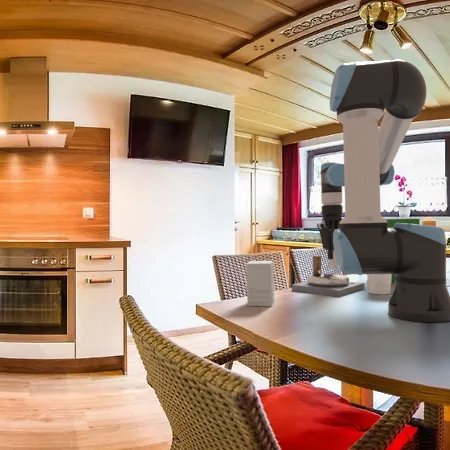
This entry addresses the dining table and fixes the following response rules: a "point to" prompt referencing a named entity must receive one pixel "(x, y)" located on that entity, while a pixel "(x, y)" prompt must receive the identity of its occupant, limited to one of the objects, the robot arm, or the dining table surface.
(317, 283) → the capstan dial
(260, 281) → the supplement box
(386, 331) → the dining table surface
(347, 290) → the dial base
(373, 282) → the white cup
